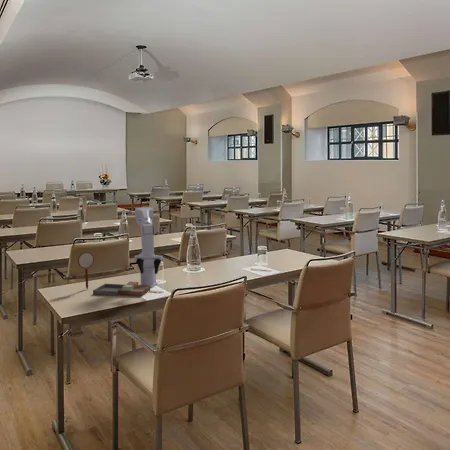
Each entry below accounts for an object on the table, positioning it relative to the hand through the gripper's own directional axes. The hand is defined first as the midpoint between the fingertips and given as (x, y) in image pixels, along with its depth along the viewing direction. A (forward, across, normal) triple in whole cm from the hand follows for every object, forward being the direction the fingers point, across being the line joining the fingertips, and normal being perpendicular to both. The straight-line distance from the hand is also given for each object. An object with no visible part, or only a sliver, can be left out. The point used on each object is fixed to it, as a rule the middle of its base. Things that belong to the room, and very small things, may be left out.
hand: (149, 273), depth 251 cm
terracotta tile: (+7, -10, +1) cm, 12 cm away
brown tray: (+10, -8, -2) cm, 13 cm away
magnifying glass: (+10, -35, 0) cm, 37 cm away
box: (+10, -21, -2) cm, 23 cm away
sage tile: (+8, -10, -5) cm, 13 cm away
